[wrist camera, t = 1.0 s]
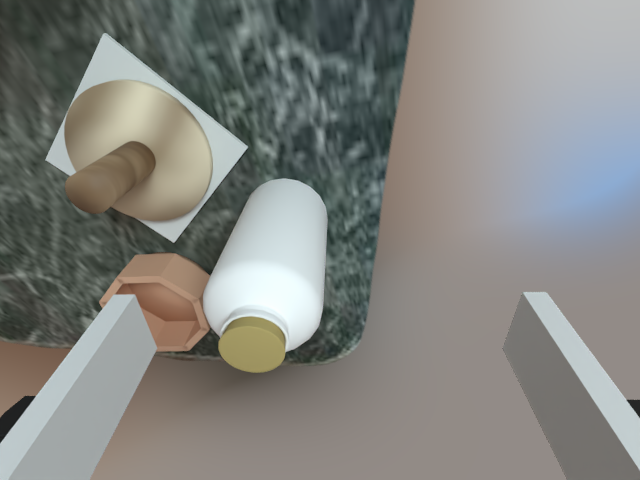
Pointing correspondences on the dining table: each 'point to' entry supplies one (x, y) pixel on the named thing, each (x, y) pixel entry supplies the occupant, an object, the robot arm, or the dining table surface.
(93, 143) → the lid
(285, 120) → the dining table surface
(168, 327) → the bowl
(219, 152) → the mat
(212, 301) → the white bottle
